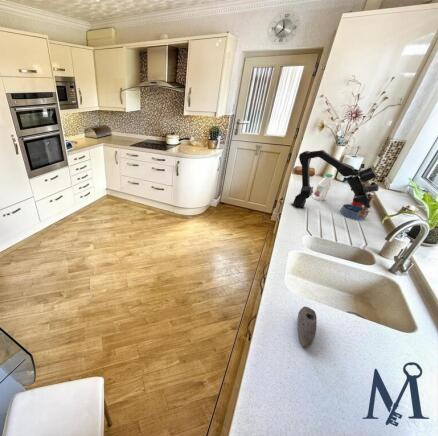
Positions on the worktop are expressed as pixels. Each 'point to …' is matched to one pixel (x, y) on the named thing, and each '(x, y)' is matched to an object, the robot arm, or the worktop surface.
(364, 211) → the muddler
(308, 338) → the perforated stone tool
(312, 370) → the worktop surface
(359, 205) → the plastic cup
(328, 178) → the milk bottle
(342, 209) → the bowl
